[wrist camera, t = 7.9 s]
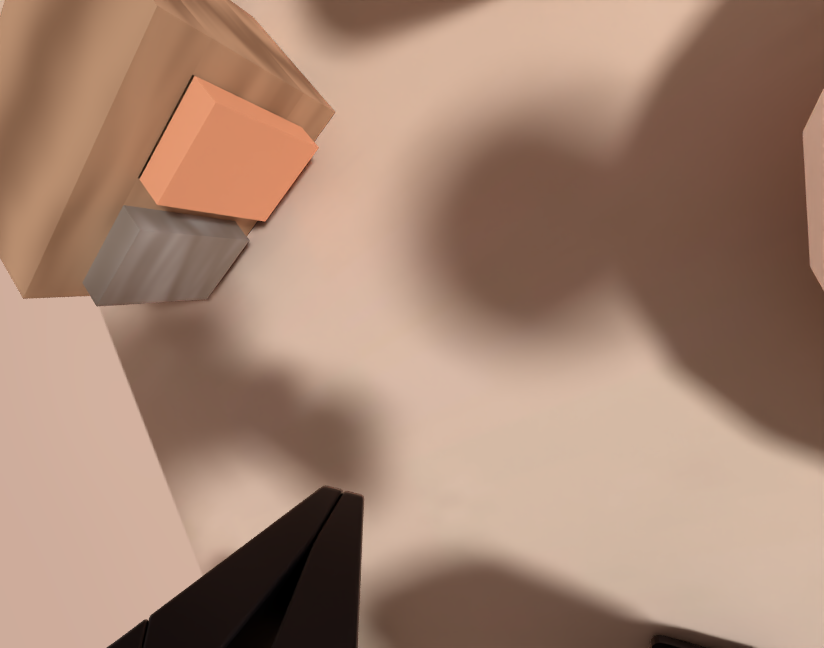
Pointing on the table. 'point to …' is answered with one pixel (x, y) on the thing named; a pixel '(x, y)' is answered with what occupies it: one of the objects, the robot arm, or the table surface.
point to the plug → (225, 155)
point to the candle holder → (815, 186)
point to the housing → (122, 141)
